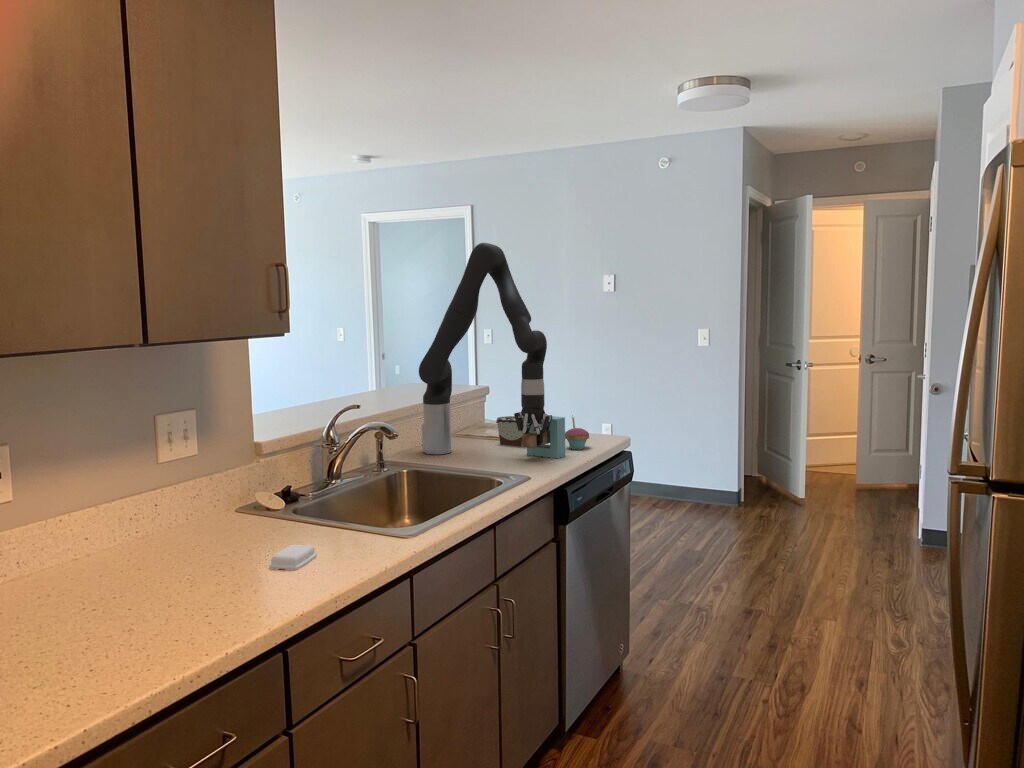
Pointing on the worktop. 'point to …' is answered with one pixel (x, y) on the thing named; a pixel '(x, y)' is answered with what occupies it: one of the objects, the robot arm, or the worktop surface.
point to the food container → (509, 431)
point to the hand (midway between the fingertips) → (533, 444)
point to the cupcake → (576, 437)
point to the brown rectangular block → (534, 439)
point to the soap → (293, 557)
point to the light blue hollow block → (551, 440)
